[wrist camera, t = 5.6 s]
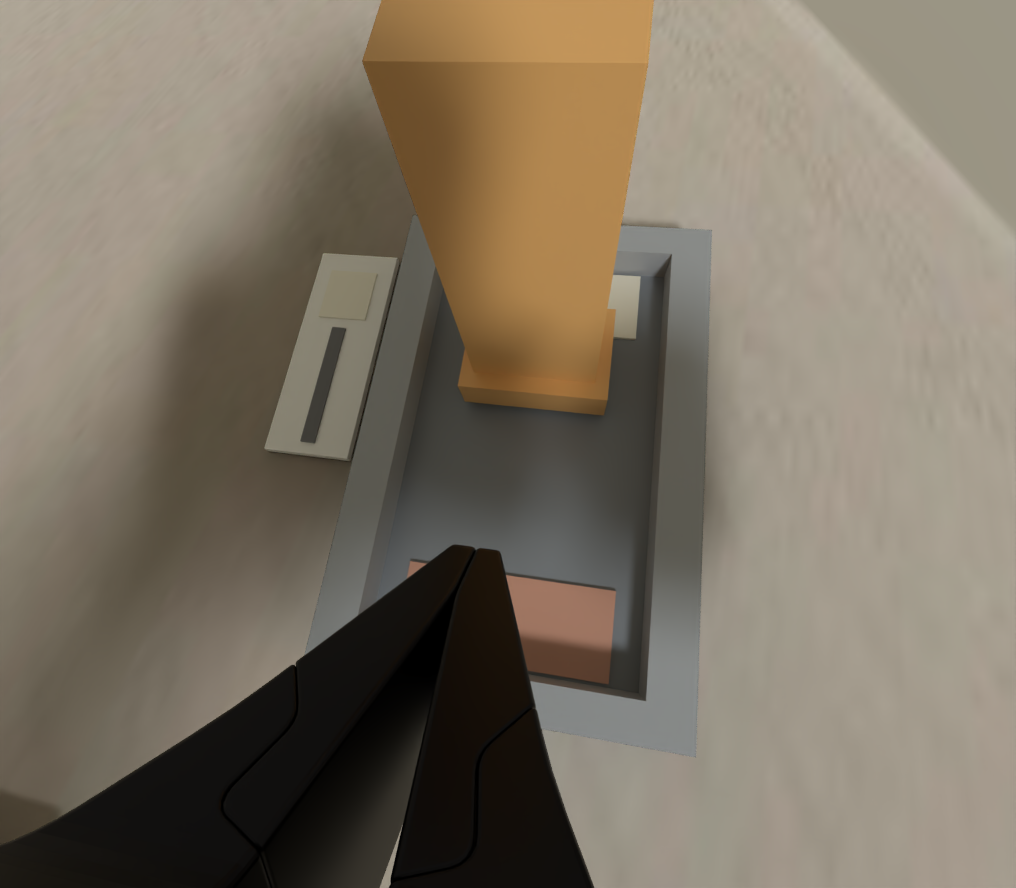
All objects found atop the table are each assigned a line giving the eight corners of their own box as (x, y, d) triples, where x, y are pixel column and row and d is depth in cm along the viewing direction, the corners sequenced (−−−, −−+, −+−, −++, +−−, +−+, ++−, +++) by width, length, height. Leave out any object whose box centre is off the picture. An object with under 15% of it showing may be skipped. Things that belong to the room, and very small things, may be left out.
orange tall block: (603, 415, 15) (681, 94, 6) (464, 401, 16) (323, 89, 6) (611, 330, 16) (690, -73, 7) (479, 319, 17) (375, -64, 7)
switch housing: (676, 736, 14) (696, 757, 12) (208, 651, 15) (160, 657, 14) (695, 269, 18) (712, 229, 16) (329, 247, 20) (305, 209, 18)
